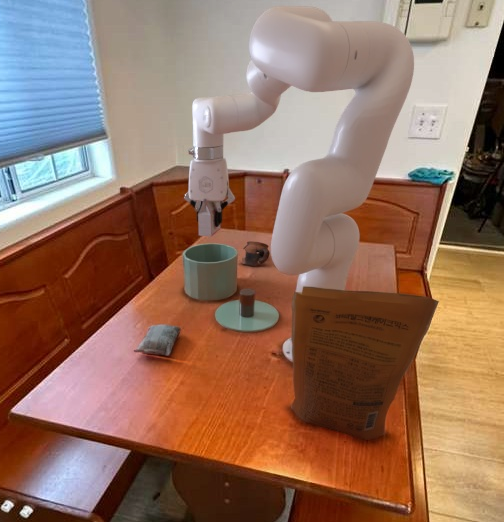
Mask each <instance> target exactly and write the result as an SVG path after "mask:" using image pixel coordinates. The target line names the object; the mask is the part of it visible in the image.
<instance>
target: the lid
mask: <svg viewBox="0 0 504 522" xmlns="http://www.w3.org/2000/svg"><path fill="white" fill-rule="evenodd" d="M214 318H215V321H216V322H217V324H218V325H220V326H221V327H223V328H226V329H227V330H229V331H232V332H233V331H234V332H239V333H258V332H263V331H266V330H269V329H271V328H273V327H274V326H275V325H277V323H278V322H279V319H280V313H279V311H278V310H277V308H276V307H274V306H273V305H271V304H270V303H267V302H264V301H262V300H256V290H255V289H252V288H243V289H240V290H239V299H235V300H231V301H228V302H224V303H223V304H221V305H220V306H218V307H217V308H216V309H215V313H214Z"/></svg>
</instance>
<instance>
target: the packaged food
mask: <svg viewBox="0 0 504 522" xmlns="http://www.w3.org/2000/svg"><path fill="white" fill-rule="evenodd" d="M181 330H182V329H181V327H179V326H176V325H171V324H153V325H150V326H148V327H147V331H146V334H144V337H143V338H142V340H141V342H140V343H139V344H138V345H137V346H136V348H135V349H133V352H134V353H141V354H148V355H157V356H160V355H161V356H165V357H170V356H171V354H172V352H173V349H174V345H175V344H176V342H177V340H178V338H179V336H180V334H181Z"/></svg>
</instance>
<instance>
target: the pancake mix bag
mask: <svg viewBox="0 0 504 522" xmlns="http://www.w3.org/2000/svg"><path fill="white" fill-rule="evenodd" d="M439 303H440V301H439V300H437V299H434V298H432V297H430V296H424V295H418V294H410V293H399V292H387V291H371V290H346V289H345V290H336V289H325V288H317V287H306V286H303V290H302V293H301V292H296V290H294V291H293V295H292V299H291V333H290V338H291V340H292V359H293V362H292V375H293V376H292V382H293V383H292V384H293V393H294V399H293V401H292V403H291V406H290V409H291V410H292V411H293V412H294V414H295V415H296V416H297V418H298V419H299V420H301V421H302V422H304V423H305V424H309V425H312V426H316V427H318V428H323V429H325V430H329V431H333V432H337V433H340V434H344V435H346V436H350V437H353V438H357V439H359V440H363V441H369V440H375V439H377V438H380V437H382V436H384V435H386V420H387V414H388V411H389V409H390V406H391V405H392V403H393V402H394V400H395V398H396V394H397V392H398V389H399V387H400V384H401V381H402V379H403V377H404V375H405V374H406V373H407V371H408V369H409V368H410V365H412V363H413V360H414V359H415V356H416V354H417V351H418V349H419V346H420V345H421V342H422V340H423V338H424V336H425V335H426V333H427V331H428V330H429V327H430V325H431V322H432V320H433V317H434V315H435V312H436V310H437V307H438V305H439Z"/></svg>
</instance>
